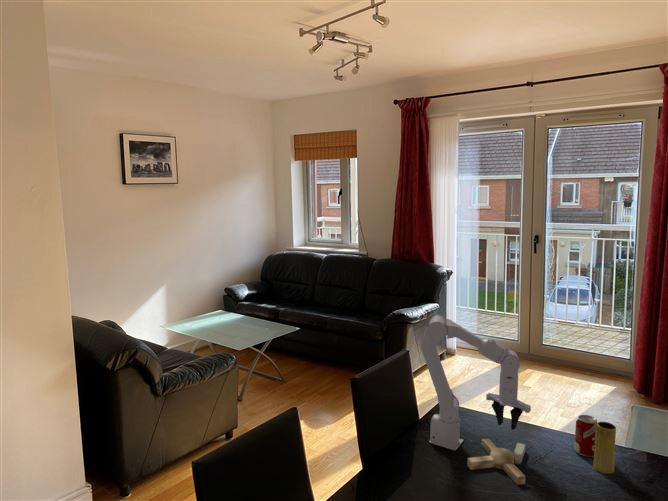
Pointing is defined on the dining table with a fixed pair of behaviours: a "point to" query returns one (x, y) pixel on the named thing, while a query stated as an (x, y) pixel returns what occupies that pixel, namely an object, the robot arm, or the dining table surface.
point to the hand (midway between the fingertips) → (506, 426)
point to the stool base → (497, 461)
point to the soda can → (585, 435)
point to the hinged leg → (519, 453)
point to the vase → (605, 448)
